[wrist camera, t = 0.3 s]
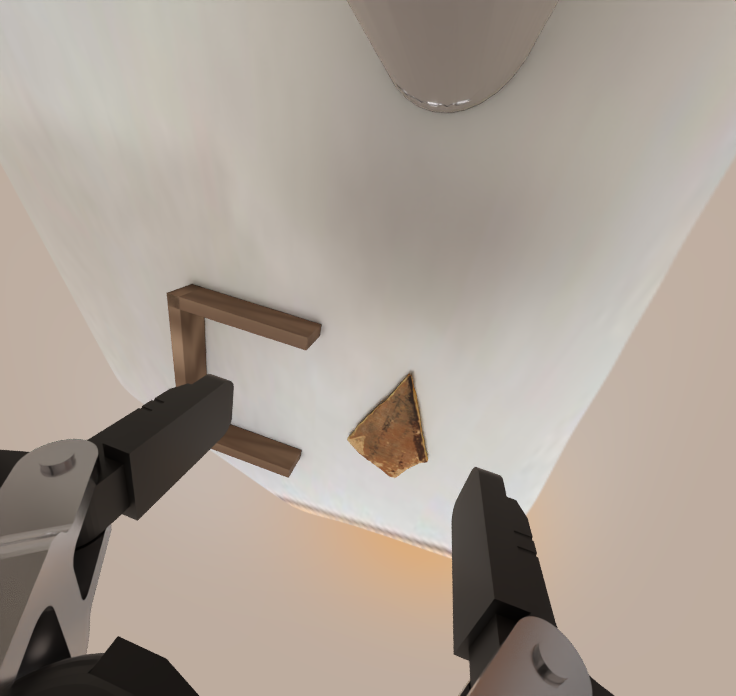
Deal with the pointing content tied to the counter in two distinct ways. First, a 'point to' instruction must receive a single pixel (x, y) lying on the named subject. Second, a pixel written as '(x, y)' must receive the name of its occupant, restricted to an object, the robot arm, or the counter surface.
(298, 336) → the wooden c-shaped bracket
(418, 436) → the shard
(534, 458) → the counter surface
